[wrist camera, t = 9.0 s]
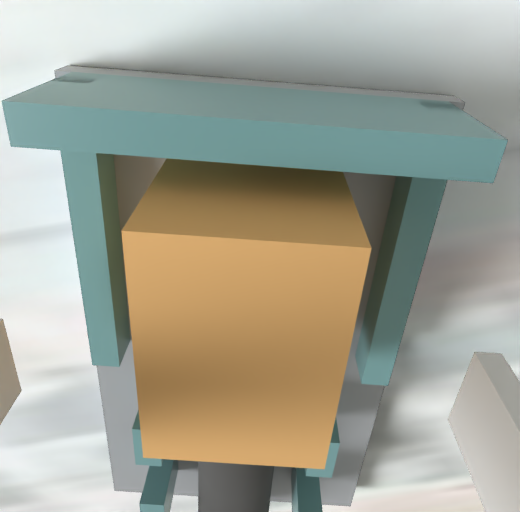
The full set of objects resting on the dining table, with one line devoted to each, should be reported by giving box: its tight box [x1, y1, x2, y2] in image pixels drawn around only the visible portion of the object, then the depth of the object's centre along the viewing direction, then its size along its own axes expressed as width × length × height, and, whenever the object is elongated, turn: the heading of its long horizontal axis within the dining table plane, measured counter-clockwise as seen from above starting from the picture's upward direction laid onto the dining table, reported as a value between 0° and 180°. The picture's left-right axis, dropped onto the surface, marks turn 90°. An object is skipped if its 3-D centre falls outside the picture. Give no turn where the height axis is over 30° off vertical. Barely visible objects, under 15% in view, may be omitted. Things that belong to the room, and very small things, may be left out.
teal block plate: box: [2, 65, 508, 512], centre depth 17 cm, size 20×12×5 cm, turn 176°
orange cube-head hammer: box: [121, 158, 372, 512], centre depth 16 cm, size 18×5×6 cm, turn 176°
